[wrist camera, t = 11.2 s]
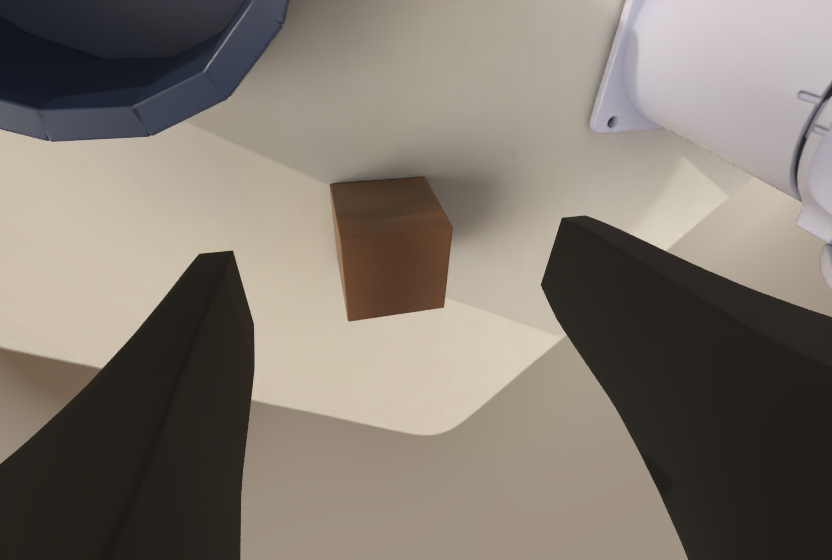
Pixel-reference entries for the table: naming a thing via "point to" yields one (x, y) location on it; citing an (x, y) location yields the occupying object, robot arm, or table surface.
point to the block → (390, 246)
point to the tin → (124, 62)
